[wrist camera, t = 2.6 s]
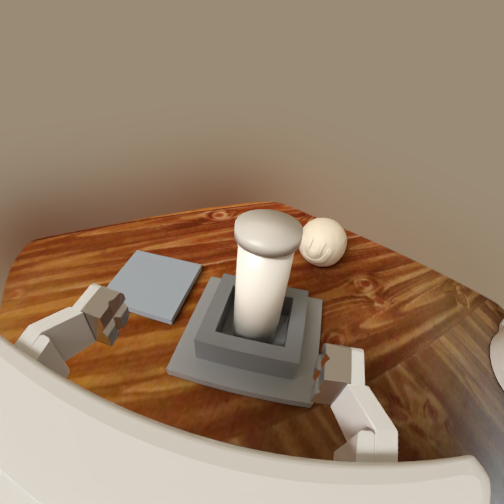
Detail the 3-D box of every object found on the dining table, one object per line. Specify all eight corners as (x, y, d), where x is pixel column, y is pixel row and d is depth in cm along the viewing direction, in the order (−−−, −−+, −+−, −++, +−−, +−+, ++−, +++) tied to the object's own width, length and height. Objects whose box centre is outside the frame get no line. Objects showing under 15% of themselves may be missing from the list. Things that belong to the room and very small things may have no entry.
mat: (201, 269, 39) (201, 264, 38) (171, 324, 31) (171, 320, 30) (138, 254, 40) (137, 250, 40) (100, 301, 32) (99, 296, 32)
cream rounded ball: (285, 264, 41) (292, 223, 37) (307, 241, 46) (316, 204, 42) (327, 284, 38) (340, 244, 34) (345, 259, 43) (357, 222, 39)
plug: (282, 319, 32) (305, 216, 24) (274, 357, 28) (300, 252, 20) (236, 309, 32) (244, 204, 25) (223, 345, 28) (226, 237, 20)
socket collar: (320, 305, 35) (328, 281, 33) (310, 407, 24) (322, 389, 22) (211, 282, 37) (211, 257, 35) (167, 373, 26) (161, 351, 23)
